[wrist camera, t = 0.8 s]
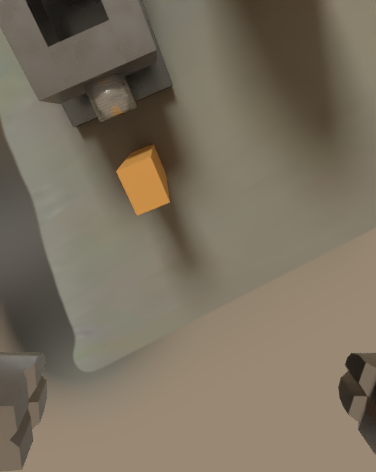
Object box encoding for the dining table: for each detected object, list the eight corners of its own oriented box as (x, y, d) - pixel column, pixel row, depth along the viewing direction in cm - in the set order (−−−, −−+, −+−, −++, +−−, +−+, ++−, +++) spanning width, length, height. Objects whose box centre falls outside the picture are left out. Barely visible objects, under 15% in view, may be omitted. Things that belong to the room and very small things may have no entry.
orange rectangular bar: (153, 143, 38) (150, 157, 25) (166, 174, 40) (169, 202, 27) (130, 152, 38) (116, 171, 25) (144, 183, 40) (137, 215, 27)
